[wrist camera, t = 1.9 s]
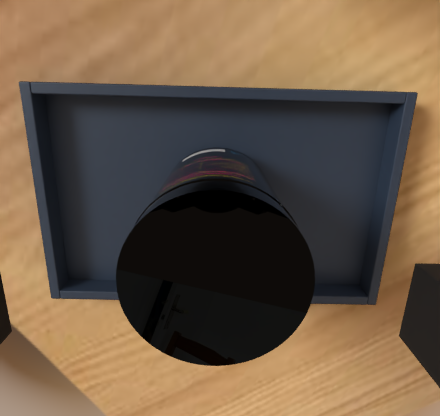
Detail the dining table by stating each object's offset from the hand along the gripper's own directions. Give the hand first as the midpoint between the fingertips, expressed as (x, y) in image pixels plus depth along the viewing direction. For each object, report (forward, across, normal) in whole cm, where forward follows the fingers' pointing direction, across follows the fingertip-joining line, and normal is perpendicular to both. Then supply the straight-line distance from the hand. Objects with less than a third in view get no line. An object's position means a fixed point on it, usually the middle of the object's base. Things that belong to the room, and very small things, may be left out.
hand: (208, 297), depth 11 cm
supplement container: (+11, 0, 0) cm, 11 cm away
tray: (+11, 0, 0) cm, 11 cm away
